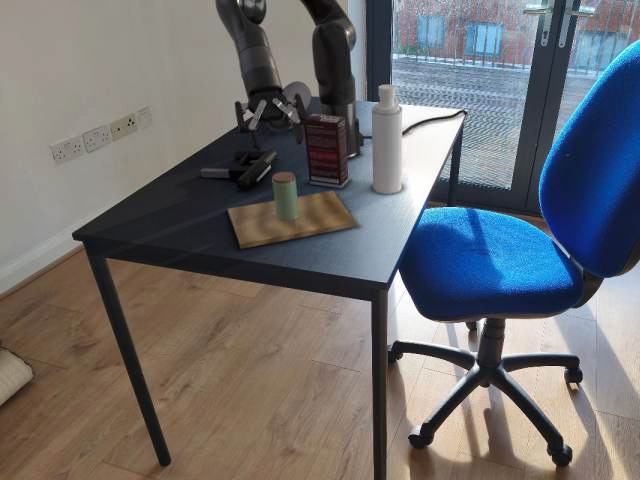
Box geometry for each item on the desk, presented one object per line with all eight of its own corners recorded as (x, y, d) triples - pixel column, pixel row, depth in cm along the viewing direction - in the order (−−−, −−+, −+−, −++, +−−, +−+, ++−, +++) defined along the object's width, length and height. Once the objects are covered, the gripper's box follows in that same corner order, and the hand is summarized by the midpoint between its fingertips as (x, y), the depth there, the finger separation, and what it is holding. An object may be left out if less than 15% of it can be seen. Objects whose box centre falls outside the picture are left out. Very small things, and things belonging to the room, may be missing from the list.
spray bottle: (378, 180, 135) (376, 73, 121) (404, 183, 133) (406, 76, 119) (369, 191, 130) (366, 82, 115) (396, 195, 128) (397, 84, 114)
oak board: (333, 195, 129) (333, 190, 128) (355, 226, 117) (355, 221, 116) (228, 213, 122) (227, 208, 121) (240, 249, 110) (239, 243, 109)
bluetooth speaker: (286, 111, 178) (282, 78, 172) (314, 112, 177) (312, 79, 171) (263, 136, 160) (259, 101, 154) (295, 137, 159) (291, 102, 153)
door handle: (187, 177, 131) (250, 179, 128) (224, 146, 147) (281, 147, 144) (191, 190, 133) (253, 193, 130) (227, 158, 149) (283, 160, 146)
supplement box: (349, 180, 135) (346, 116, 126) (341, 189, 131) (338, 123, 122) (316, 176, 137) (311, 112, 128) (308, 184, 134) (302, 118, 124)
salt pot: (296, 208, 121) (292, 170, 115) (301, 218, 117) (297, 179, 112) (274, 212, 119) (269, 173, 114) (279, 222, 116) (274, 182, 110)
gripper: (225, 68, 111) (245, 143, 109) (295, 61, 115) (315, 132, 113) (226, 88, 118) (244, 159, 116) (291, 80, 122) (310, 148, 120)
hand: (279, 146), depth 115 cm, fingers open, 8 cm apart
